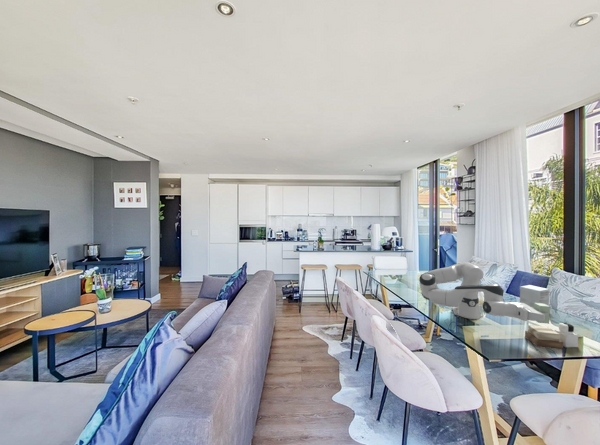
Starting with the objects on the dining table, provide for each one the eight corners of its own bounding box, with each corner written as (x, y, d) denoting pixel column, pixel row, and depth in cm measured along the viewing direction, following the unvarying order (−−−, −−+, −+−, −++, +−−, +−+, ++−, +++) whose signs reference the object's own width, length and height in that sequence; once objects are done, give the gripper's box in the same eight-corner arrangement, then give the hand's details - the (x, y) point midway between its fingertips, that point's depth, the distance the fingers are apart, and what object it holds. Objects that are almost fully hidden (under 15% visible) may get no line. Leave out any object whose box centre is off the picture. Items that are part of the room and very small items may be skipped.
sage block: (533, 319, 157) (534, 302, 157) (543, 320, 156) (544, 303, 156) (538, 322, 153) (539, 305, 152) (548, 323, 151) (549, 306, 151)
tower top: (527, 331, 161) (528, 325, 161) (547, 333, 159) (547, 326, 159) (538, 339, 152) (539, 332, 152) (559, 341, 150) (559, 334, 149)
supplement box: (549, 311, 204) (550, 289, 203) (539, 313, 199) (539, 290, 199) (529, 305, 217) (529, 284, 216) (518, 307, 212) (519, 286, 211)
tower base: (525, 337, 163) (525, 330, 163) (548, 339, 160) (548, 332, 160) (537, 347, 151) (538, 339, 151) (562, 350, 148) (563, 342, 148)
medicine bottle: (565, 341, 158) (566, 321, 157) (578, 347, 151) (579, 326, 150) (553, 341, 157) (554, 321, 157) (566, 347, 150) (566, 326, 150)
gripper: (506, 308, 167) (531, 310, 164) (525, 322, 147) (555, 324, 144) (506, 299, 167) (532, 301, 164) (526, 310, 147) (555, 313, 144)
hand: (543, 312), depth 154 cm, fingers closed on sage block, 5 cm apart
